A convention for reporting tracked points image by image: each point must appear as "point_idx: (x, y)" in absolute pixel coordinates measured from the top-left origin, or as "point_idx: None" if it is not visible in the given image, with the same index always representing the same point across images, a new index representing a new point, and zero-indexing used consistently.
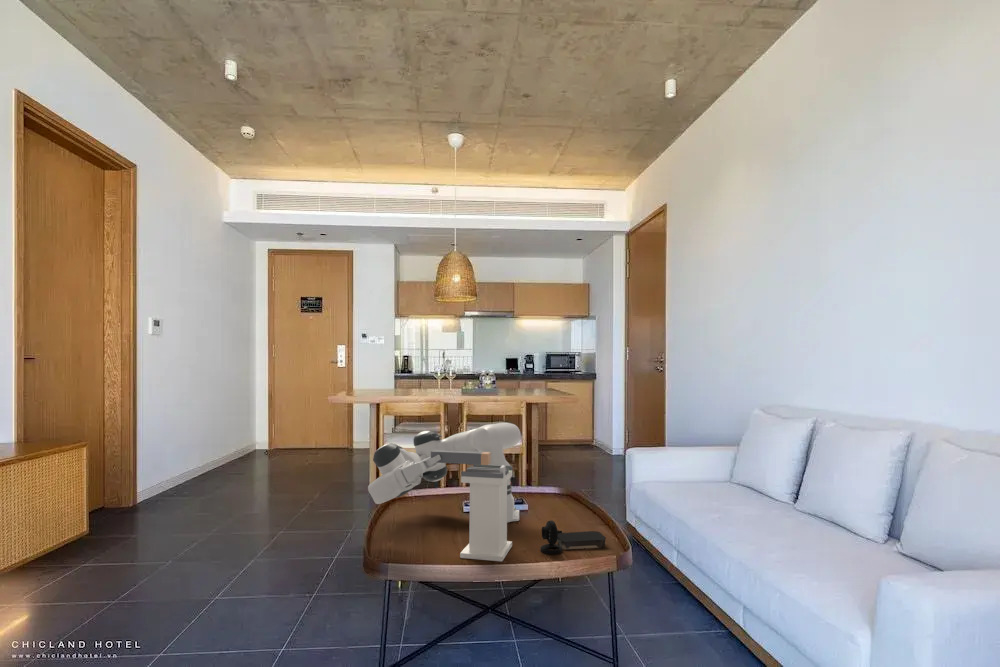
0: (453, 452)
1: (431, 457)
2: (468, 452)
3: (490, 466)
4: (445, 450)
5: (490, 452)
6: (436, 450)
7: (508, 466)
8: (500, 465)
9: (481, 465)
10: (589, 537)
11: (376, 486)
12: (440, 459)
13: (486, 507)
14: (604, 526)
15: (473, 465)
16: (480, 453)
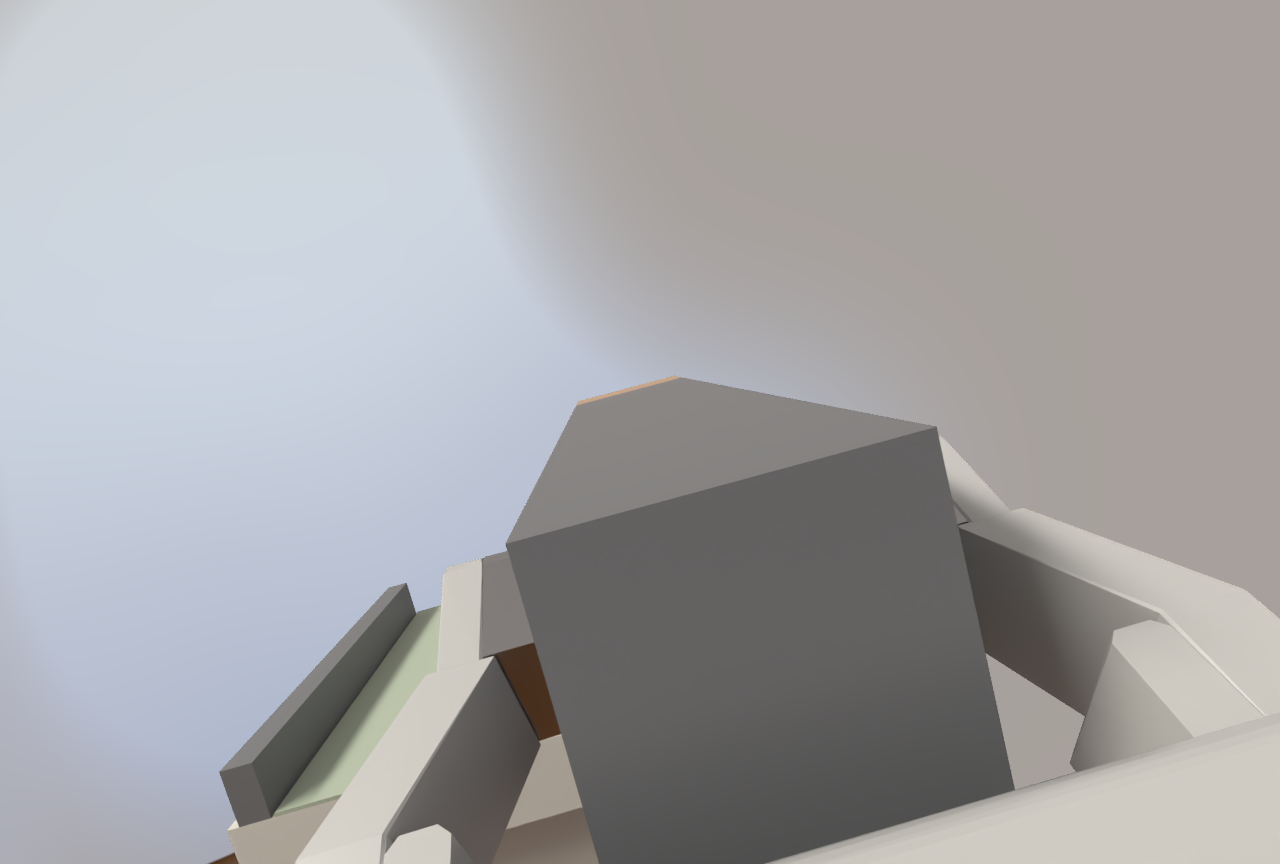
0: (738, 389)
1: (969, 636)
2: (656, 394)
3: (347, 667)
4: (559, 462)
5: (590, 398)
6: (614, 490)
7: (400, 594)
8: (367, 619)
9: (307, 710)
10: None
11: None
12: None
13: None
14: (232, 861)
15: (257, 775)
16: (675, 379)
